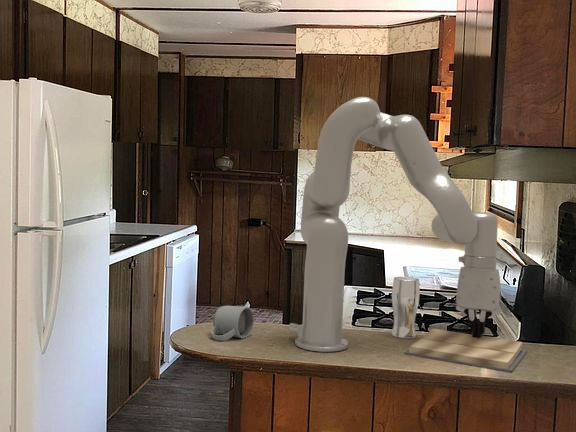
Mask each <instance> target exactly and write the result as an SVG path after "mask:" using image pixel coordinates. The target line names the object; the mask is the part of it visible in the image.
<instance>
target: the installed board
mask: <svg viewBox="0 0 576 432" xmlns="http://www.w3.org/2000/svg"><path fill="white" fill-rule="evenodd" d="M408 350H409V353H414V354H420V355H426V356H432V357H438V358H444V359H449V360H455V361H461V362H467V363H473V364H479V365H484V366H490V367H496V368H502V369H508V368H509V367H510V365H511V364H512V363H513V362H514V360H515V353H509V352H503V351H497V350H490V349H484V348H478V347H471V346H465V345H459V344H452V343H446V342H440V341H434V340H427V339H422V338H420V339H418V340H417V341H415V342H414V343H412V344H411V345H410V346H409V349H408Z"/></svg>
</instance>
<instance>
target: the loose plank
mask: <svg viewBox="0 0 576 432" xmlns="http://www.w3.org/2000/svg"><path fill="white" fill-rule="evenodd" d="M421 339H427V340H434V341H440V342H446V343H452V344H459V345H465V346H471V347H478V348H484V349H490V350H497V351H503V352H509V353H515V359H516V357H517V356H518V354H519V352H520V351H521V350H523V342H522V341H518V340H517V341H516V340H512V339H511V340H510V339H505V338H497V337H496V338H495V337H490V336H484V335H482V336H481V337H480V338H478V337H477V336H476V337H473V333H471V334H470V333H464V332H456V331H451V330H443V329H439V328H438V329H437V328H431V329H430V331H429V332H427V333H426V334H425V335H424V336H423V337H422V338H421Z"/></svg>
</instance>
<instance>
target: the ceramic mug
mask: <svg viewBox="0 0 576 432" xmlns="http://www.w3.org/2000/svg"><path fill="white" fill-rule="evenodd" d="M254 321H255V318H254V312H253V310H252V309H251V308H250V307H249V306H241V305H223V306H220V307H218V308H217V309H216V310H215V312H214V315H213V317H212V324H213V327H212V328H211V332H210V333H211V337H212V339H213V340H214V339H215V341H217V340H219V341H218V342H222V341H223V342H224V341H227V340H230V339H231V338H232V337H233V338H237V339H238V338H239V339H246V338H248V337H249V336H250V335H251V333H252V331H253V328H254ZM216 333H218V334H219V335H217V334H216ZM222 334H223V335H222ZM247 336H248V337H247ZM245 337H246V338H245Z"/></svg>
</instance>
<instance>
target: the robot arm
mask: <svg viewBox="0 0 576 432" xmlns="http://www.w3.org/2000/svg"><path fill="white" fill-rule="evenodd" d="M358 140H359V141H361V142H365V143H368V144H370V145H373V146H375V147H378V148H381V149H384V150H387V151H392V152H393V153H394V154H395V156H396V158H397V160H398V163H399V164H400V166H401V169H402V170H403V172H404V174H405V175H406V176H405V177H406V178H407V180H408V182H409V184H410V185H411V186H412V187H413V188H414V189H415V190H416V191H417V192H418V193H419V194H421V195H422V196H424V197H425V198H426V199H427V200H428V202H429V203H430V204H431V206H433V208H434V209H435V211H436V212H437V214H436V215H435V216H434V217H433V219H432V221H431V225H430V227H431V230H432V233H433V235H434V236H435V237H436V238H438V239H439V240H440V241H443V242H447V243H451V244H456V245H459V246H460V245H461V246H462V245H464V255H463V256H459V257H458V262H459V263H462V264H463V266H461V267H460V269H459V273H458V280H457V285H456V287H457V288H456V297H455V301H456V302H455V303H456V307H455V310H456V311H459V312H462V313H464V314H465V315H466V316H467V317H468V319H469V321H470V333H471V334H472V335H473V337H476V336H477V337H478V338H480V337H481V336H483V335H485V330H486V321H487V319H488V318H490V317H492V316H493V317H494V316H500V315H501V314H502V309H501V304H502V303H501V302H502V295H501V294H502V289H501V287H502V286H501V277H500V276H501V275H500V271H499V270H500V269H499V268H497V251H498V250H497V247H498V246H497V244H498V227H499V225H498V221H499V220H498V215H496V214H495V213H492V212H478V211H477V212H473V211H472V207H471V206H470V204H469V202H468V201H467V198H466V197H465V195H464V194H463V192H462V190H461V189H460V188H459V187H458V186H457V184H456V183H455V181H454V180H453V179H452V178H451V176H450V175H449V173H448V172H447V171H446V170H445V169H444V168H443V166H442V164H441V162H440V160H439V157H438V156H437V154H436V151H435V150H434V148H433V146H432V143H431V141H430V140H429V138H428V136H427V133H426V132H425V130H424V128H423V126H422V124H421V121H419V120H418V119H417V118H416V117H415V116H413V115H410V114H400V115H390V114H388V113H384V112H381V110H380V107H379V104H378V103H377V101H376V100H375V99H372V97H367V96H359V97H354V98H352V99H350V100H348V101H347V102H344V103H343V104H341V105H339V107H337V108H336V109H335V110H334V111H333V112H331V114H330V115H329V117H328V118H327V119H326V121H325V122H324V124H323V127H322V128H321V130H320V133H319V137H318V142H317V148H316V156H315V163H314V171H313V172H312V173H310V174H309V176H308V177H307V179H306V181H305V184H304V189H303V197H302V205H301V206H302V208H301V215H300V216H301V217H300V235H301V238H302V240H303V241H304V243H305V244H306V254H305V262H304V277H303V279H304V281H303V282H304V283H303V284H304V285H303V302H302V303H303V304H302V306H303V308H302V324H298V323H293V322H290V323H289V325H288V333H291V334H296V335H297V337H296V338H295V342H294V344H295V345H296V346H297V347H299V349H300V348H301V349H303V350H307V351H312V352H321V353H322V352H323V353H325V352H326V353H327V352H329V353H330V352H332V353H333V352H339V351H343V350H346V349H347V348H348V347H349V341H348V339H345V338H343V316H344V315H343V314H344V298H345V296H344V294H345V293H344V292H345V269H346V259H347V253H348V246H349V230H348V227H347V226H346V224H345V222H344V221H343V220H342V219H341V218H340V217H339V215H340V208H341V207H340V206H342V205H343V204H344V203H345V202H346V201H347V200H348V197H349V195H350V189H351V188H350V187H351V186H350V185H351V174H352V162H353V156H354V152H355V151H354V150H355V146H356V144H357V142H358ZM477 311H480V316H479V317H478V316H477V315H478V314H477Z"/></svg>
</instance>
